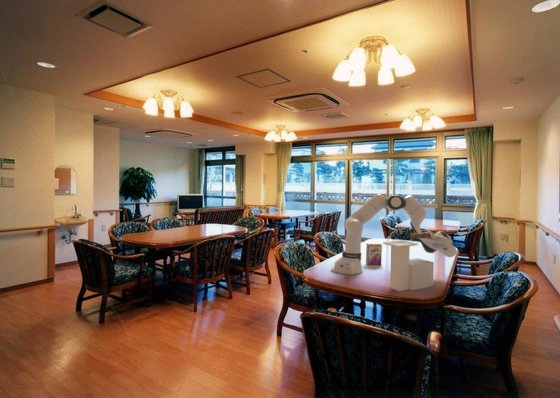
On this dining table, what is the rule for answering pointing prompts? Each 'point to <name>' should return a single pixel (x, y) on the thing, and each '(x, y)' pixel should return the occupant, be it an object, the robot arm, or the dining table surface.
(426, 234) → the walnut bar
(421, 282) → the stepped stand
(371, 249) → the candy bar box
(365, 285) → the dining table surface
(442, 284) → the dining table surface
